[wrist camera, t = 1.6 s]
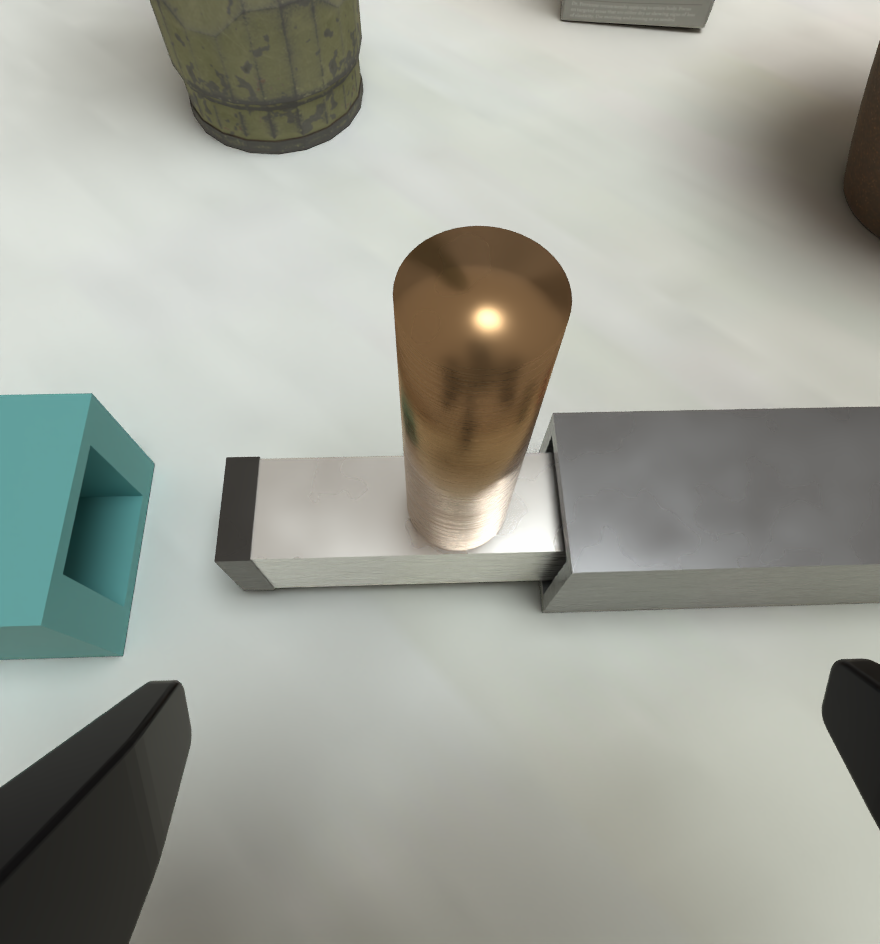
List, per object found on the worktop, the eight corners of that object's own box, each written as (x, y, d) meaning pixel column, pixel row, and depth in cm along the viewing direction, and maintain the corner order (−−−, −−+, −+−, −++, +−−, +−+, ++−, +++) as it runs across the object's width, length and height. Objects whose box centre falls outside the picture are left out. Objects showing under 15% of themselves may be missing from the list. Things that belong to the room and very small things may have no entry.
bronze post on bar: (862, 484, 24) (1280, 212, 12) (891, 572, 22) (1394, 360, 11) (252, 498, 23) (77, 223, 11) (244, 590, 21) (34, 384, 10)
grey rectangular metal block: (892, 471, 25) (998, 404, 20) (939, 600, 23) (1069, 558, 18) (529, 479, 24) (553, 412, 20) (542, 612, 22) (572, 572, 18)
